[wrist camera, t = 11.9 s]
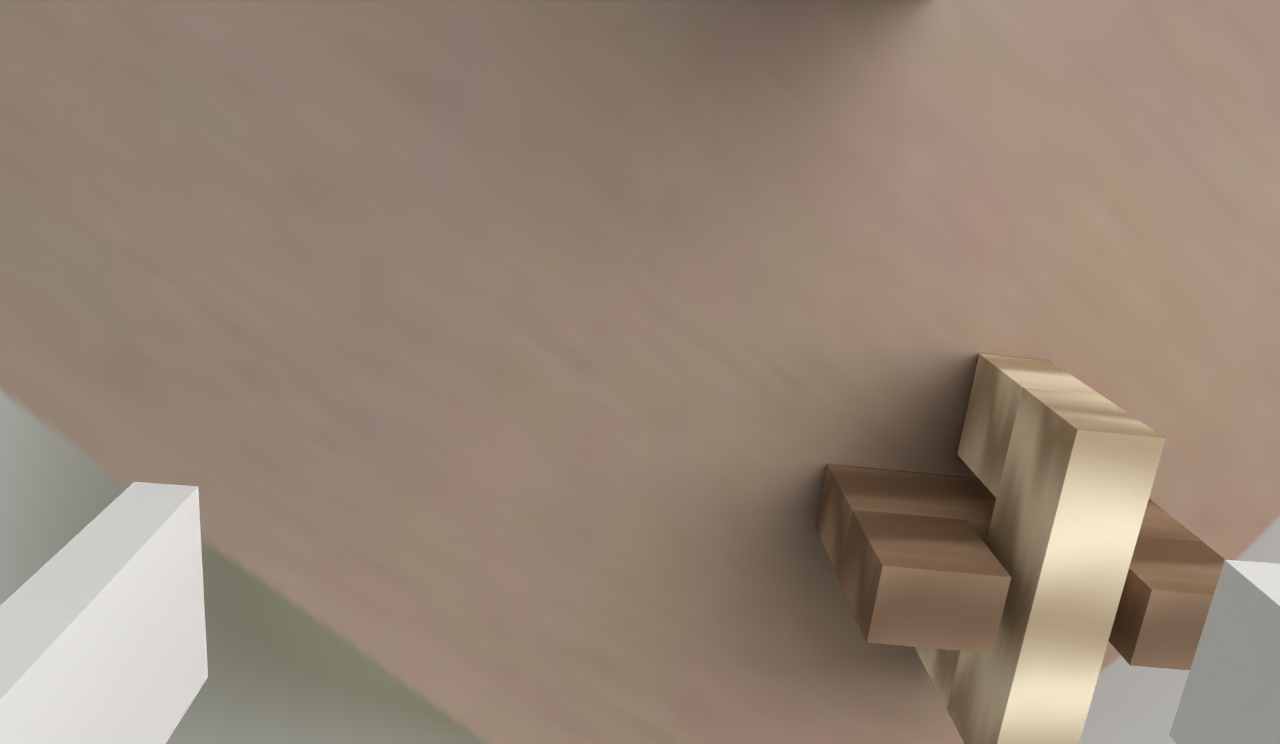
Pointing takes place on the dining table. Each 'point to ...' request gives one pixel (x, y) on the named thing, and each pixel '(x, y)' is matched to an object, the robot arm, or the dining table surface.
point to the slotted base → (990, 568)
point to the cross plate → (1047, 547)
